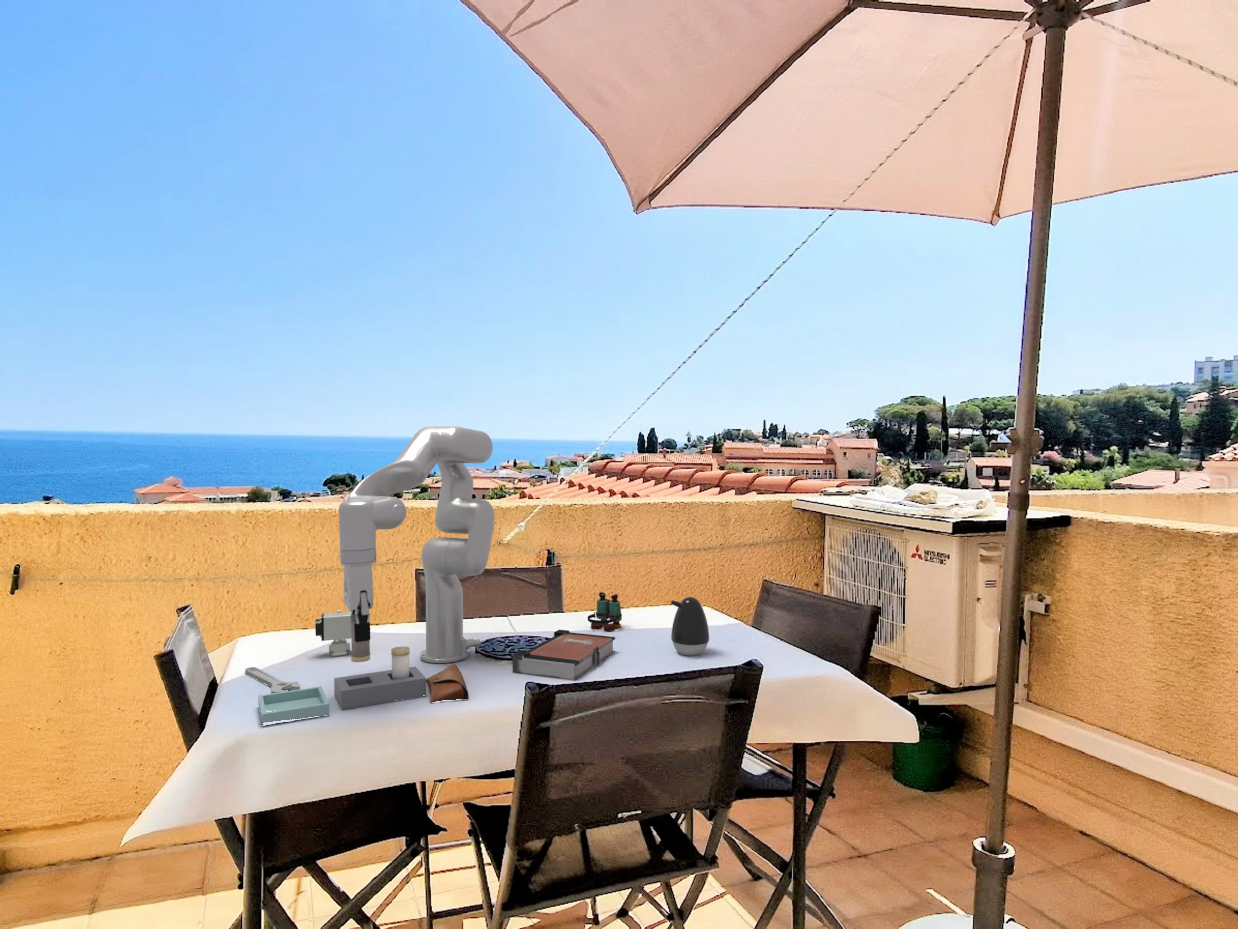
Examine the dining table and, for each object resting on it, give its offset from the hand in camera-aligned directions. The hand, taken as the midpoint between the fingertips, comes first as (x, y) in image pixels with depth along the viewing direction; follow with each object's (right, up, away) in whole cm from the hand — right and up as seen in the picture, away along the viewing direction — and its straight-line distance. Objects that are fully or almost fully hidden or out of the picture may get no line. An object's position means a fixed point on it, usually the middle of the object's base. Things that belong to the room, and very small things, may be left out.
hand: (360, 637), depth 164 cm
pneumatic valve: (-18, -13, +35) cm, 41 cm away
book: (+44, -13, +28) cm, 54 cm away
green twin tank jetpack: (+53, -12, +62) cm, 82 cm away
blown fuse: (0, -5, 0) cm, 5 cm away
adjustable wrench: (-25, -14, +11) cm, 30 cm away
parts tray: (-12, -14, -8) cm, 20 cm away
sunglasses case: (+17, -14, +7) cm, 23 cm away
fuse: (+8, -13, +4) cm, 16 cm away
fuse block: (+4, -13, +2) cm, 14 cm away
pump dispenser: (+76, -13, +36) cm, 85 cm away
